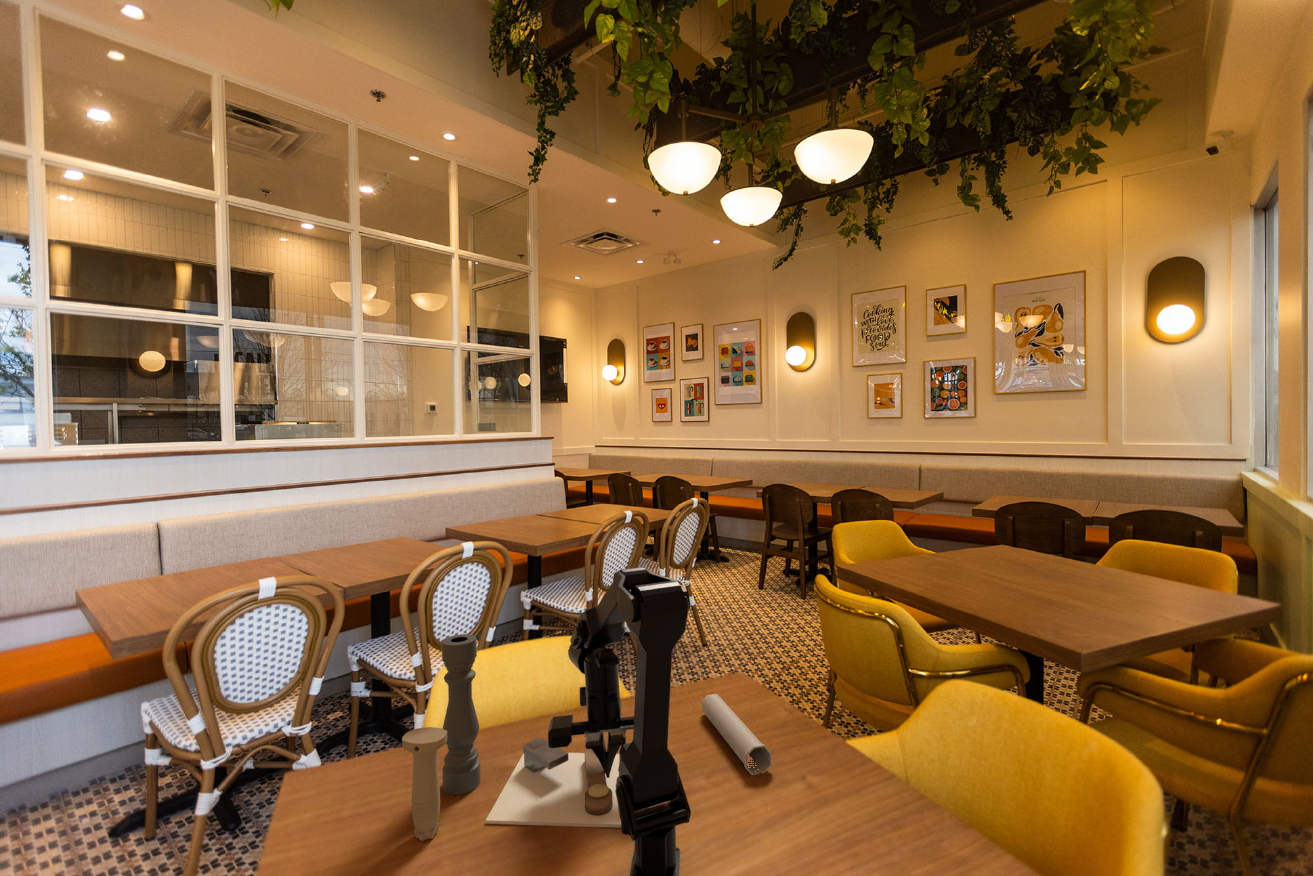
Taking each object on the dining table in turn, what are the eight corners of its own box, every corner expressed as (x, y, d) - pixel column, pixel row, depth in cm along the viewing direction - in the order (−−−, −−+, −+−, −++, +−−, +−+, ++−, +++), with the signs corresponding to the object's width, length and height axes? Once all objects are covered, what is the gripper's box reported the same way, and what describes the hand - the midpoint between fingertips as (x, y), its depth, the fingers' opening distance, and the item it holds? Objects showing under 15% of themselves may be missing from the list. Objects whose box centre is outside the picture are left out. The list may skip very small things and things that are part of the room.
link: (614, 813, 92) (613, 800, 92) (585, 817, 91) (585, 804, 91) (604, 758, 108) (604, 747, 108) (580, 761, 107) (580, 750, 107)
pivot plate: (626, 827, 89) (626, 806, 89) (485, 823, 91) (485, 802, 91) (640, 756, 109) (640, 739, 109) (524, 754, 111) (524, 736, 111)
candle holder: (434, 789, 100) (432, 642, 100) (462, 771, 106) (459, 631, 106) (461, 799, 97) (458, 648, 97) (488, 779, 103) (485, 636, 103)
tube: (694, 696, 126) (740, 754, 102) (716, 685, 128) (767, 740, 103) (702, 718, 127) (750, 781, 102) (724, 707, 128) (776, 767, 104)
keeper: (568, 776, 102) (568, 753, 102) (549, 786, 99) (549, 762, 99) (540, 758, 108) (540, 736, 108) (521, 767, 105) (521, 745, 105)
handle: (439, 847, 86) (437, 744, 86) (397, 844, 86) (395, 742, 87) (454, 825, 90) (452, 728, 91) (415, 823, 91) (413, 726, 91)
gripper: (652, 662, 109) (658, 746, 109) (551, 671, 107) (556, 757, 107) (658, 687, 98) (664, 780, 98) (545, 698, 96) (550, 793, 96)
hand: (607, 776), depth 100 cm, fingers closed
